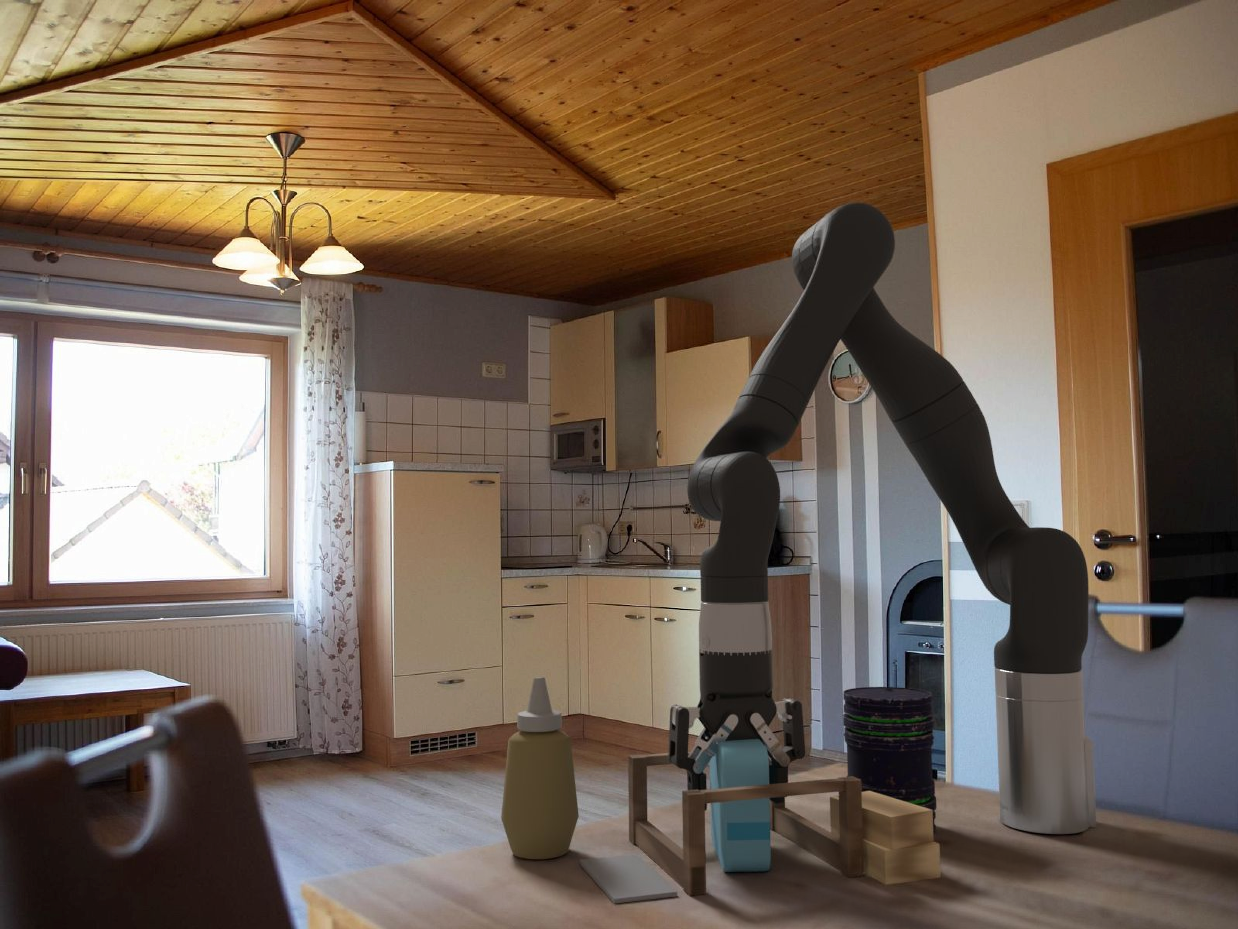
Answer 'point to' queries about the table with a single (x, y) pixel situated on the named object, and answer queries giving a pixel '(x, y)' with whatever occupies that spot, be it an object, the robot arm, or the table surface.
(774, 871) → the table surface
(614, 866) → the mat
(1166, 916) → the table surface
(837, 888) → the table surface
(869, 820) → the offcut upper
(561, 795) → the squeeze bottle
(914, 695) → the dark navy cylinder
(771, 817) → the frame
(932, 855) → the offcut lower
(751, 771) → the blue rounded block
